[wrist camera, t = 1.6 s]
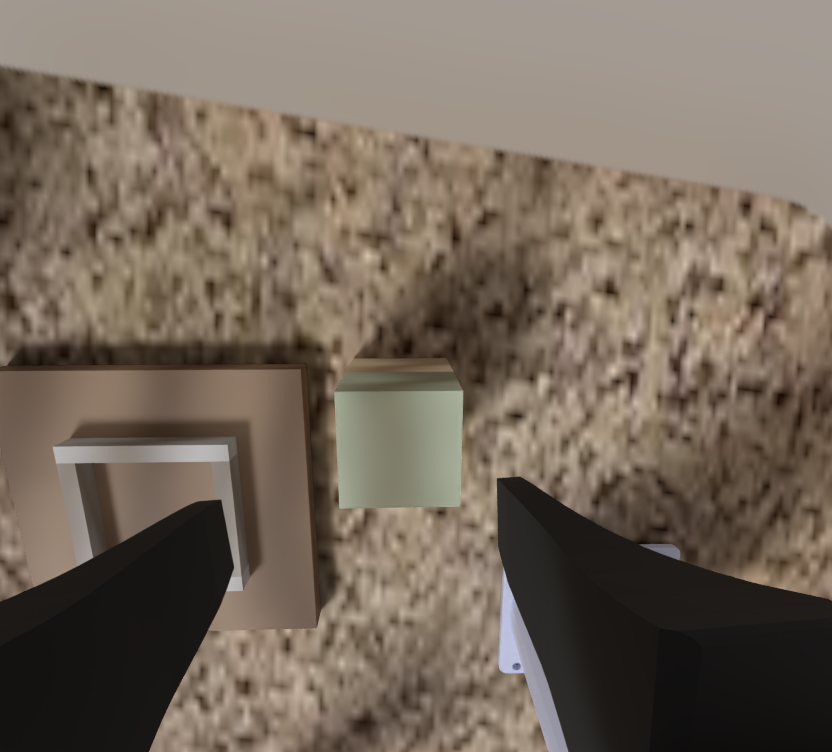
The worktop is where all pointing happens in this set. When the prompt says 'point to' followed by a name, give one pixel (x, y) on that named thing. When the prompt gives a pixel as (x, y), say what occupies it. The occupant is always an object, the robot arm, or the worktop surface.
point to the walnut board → (168, 471)
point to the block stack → (399, 433)
